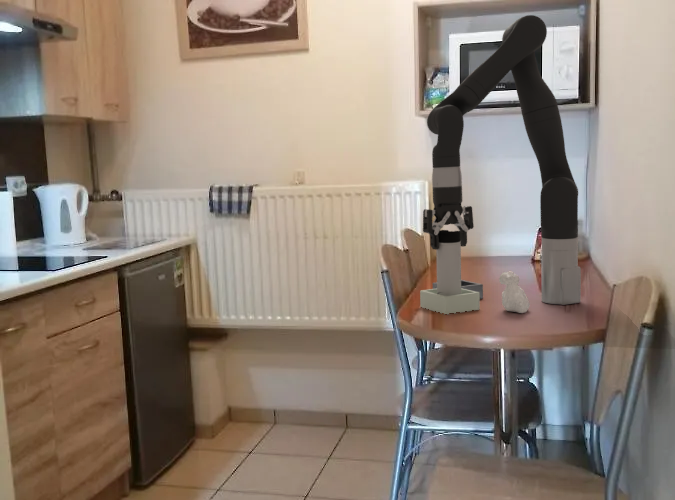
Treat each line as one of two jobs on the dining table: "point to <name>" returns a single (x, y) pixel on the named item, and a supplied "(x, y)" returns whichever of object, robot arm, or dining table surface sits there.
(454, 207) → the robot arm
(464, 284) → the sleeve
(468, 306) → the tray
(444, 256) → the travel mug
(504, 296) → the bust
